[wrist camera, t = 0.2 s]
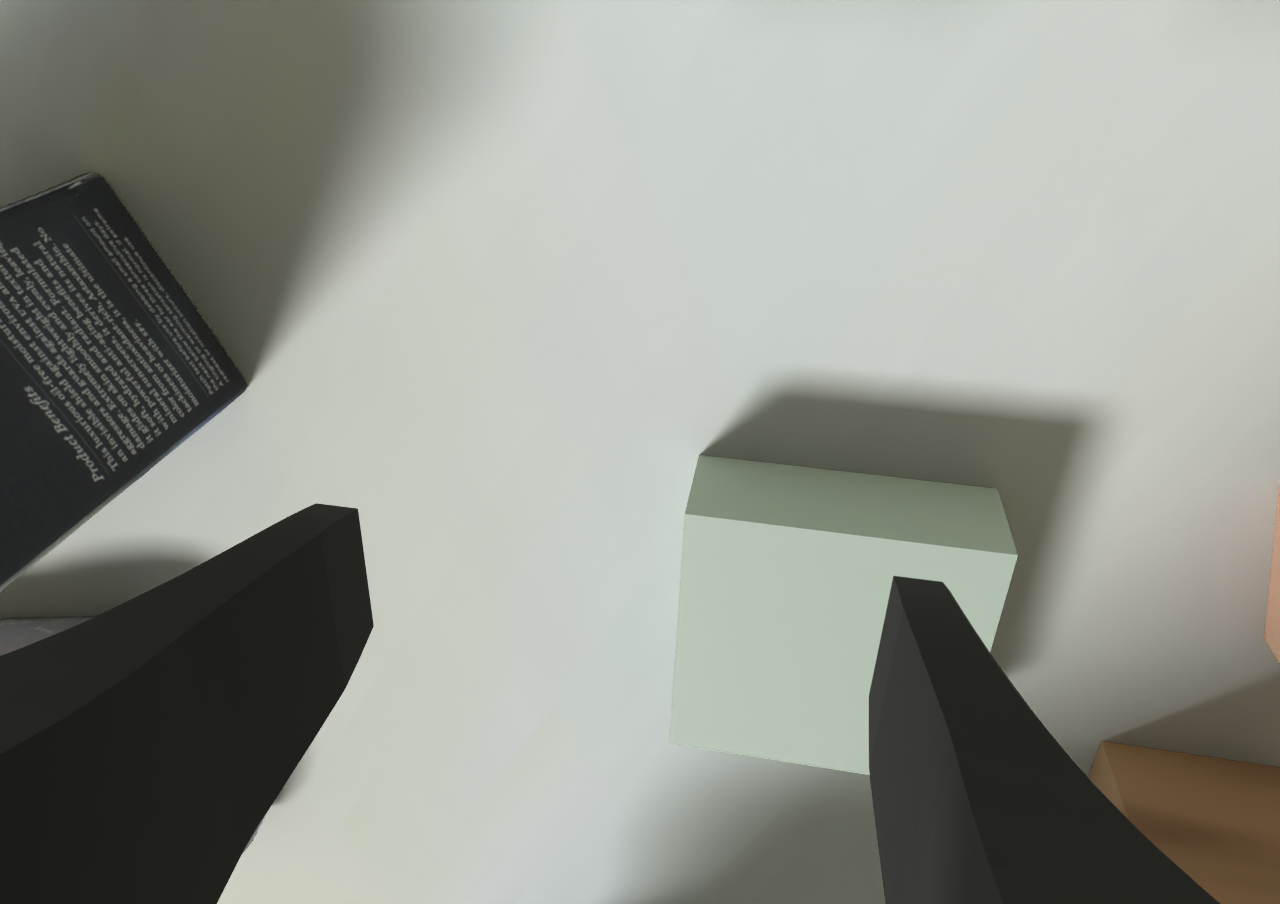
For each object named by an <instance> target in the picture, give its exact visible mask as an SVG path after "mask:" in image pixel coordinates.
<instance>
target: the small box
mask: <svg viewBox="0 0 1280 904" xmlns="http://www.w3.org/2000/svg"><path fill="white" fill-rule="evenodd" d="M246 388H247V384H246V382H245V381H244V380H243V378H242V376H241V374H240V373H239V371H238V370H237V368H236V367H235V366H234V364H233V363H232V361H231V360H230V358H229V357H228V356H227V354H226V352H225V351H224V349H223V348H222V347H221V345H220V344H219V342H218V341H217V340H216V338H215V337H214V335H213V334H212V332H211V331H210V330H209V328H208V327H207V325H206V324H205V322H204V321H203V320H202V318H201V317H200V315H199V314H198V312H197V311H196V309H195V308H194V307H193V305H192V304H191V302H190V301H189V299H188V298H187V296H186V295H185V293H184V292H183V291H182V289H181V288H180V286H179V285H178V284H177V282H176V281H175V279H174V278H173V277H172V275H171V274H170V272H169V271H168V269H167V268H166V267H165V265H164V264H163V262H162V261H161V259H160V258H159V257H158V255H157V254H156V253H155V251H154V250H153V248H152V247H151V245H150V244H149V243H148V241H147V240H146V238H145V237H144V235H143V234H142V233H141V231H140V230H139V229H138V227H137V225H136V224H135V222H134V221H133V220H132V218H131V217H130V215H129V214H128V212H127V211H126V210H125V208H124V207H123V205H122V204H121V203H120V201H119V200H118V199H117V197H116V196H115V194H114V193H113V191H112V190H111V188H110V187H109V186H108V184H107V183H106V182H105V181H104V179H103V178H102V177H101V176H100V175H97V174H95V173H85V174H82V175H80V176H77V177H75V178H73V179H71V180H69V181H66V182H64V183H61V184H59V185H57V186H54V187H51V188H49V189H47V190H45V191H43V192H40V193H37V194H35V195H33V196H29V197H27V198H25V199H22V200H20V201H17V202H15V203H11V204H9V205H6V206H4V207H1V208H0V592H1V591H2V590H3V589H4V588H5V587H7V586H8V585H9V584H10V583H12V582H13V581H14V580H15V579H16V578H18V577H19V576H20V575H21V574H23V573H24V572H25V571H26V570H28V569H29V568H30V567H31V566H33V565H34V564H35V563H36V562H38V561H39V560H40V559H41V558H43V557H44V556H45V555H46V554H48V553H49V552H50V551H51V550H53V549H54V548H55V547H56V546H57V545H59V544H60V543H61V542H62V541H63V540H65V539H66V538H67V537H68V536H69V535H70V534H72V533H73V532H74V531H75V530H76V529H78V528H79V527H80V526H81V525H82V524H84V523H85V522H86V521H87V520H88V519H90V518H91V517H92V516H93V515H95V514H96V513H97V512H98V511H99V510H101V509H102V508H103V507H104V506H106V505H107V504H108V503H109V502H110V501H112V500H113V499H114V498H115V497H117V496H118V495H119V494H120V493H122V492H123V491H124V490H125V489H126V488H128V487H129V486H130V485H131V484H133V483H134V482H135V481H136V480H138V479H139V478H140V477H142V476H143V475H144V474H145V473H146V472H148V471H149V470H150V469H151V468H152V467H153V466H155V465H156V464H157V463H158V462H159V461H161V460H162V459H163V458H164V457H165V456H167V455H168V454H169V453H170V452H172V451H173V450H174V449H175V448H177V447H178V446H179V445H180V444H181V443H183V442H184V441H185V440H186V439H188V438H189V437H190V436H191V435H193V434H194V433H195V432H196V431H198V430H199V429H200V428H201V427H202V426H204V425H205V424H206V423H207V422H209V421H210V420H211V419H212V418H213V417H215V416H216V415H217V414H218V413H220V412H221V411H222V410H223V409H224V408H226V407H227V406H228V405H229V404H230V403H231V402H233V401H234V400H235V399H236V398H237V397H239V396H240V395H241V394H242V393H243V392H244V391H245V390H246Z"/></svg>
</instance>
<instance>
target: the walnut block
mask: <svg viewBox="0 0 1280 904" xmlns="http://www.w3.org/2000/svg"><path fill="white" fill-rule="evenodd" d="M1088 778H1089V779H1090V781H1091V782H1092V783H1093V784H1094V785H1095V786H1096V787H1097V788H1098V789H1099V790H1100V791H1101V792H1102V793H1103V794H1104V795H1105V796H1106V797H1107V798H1108V799H1109V800H1110V801H1111V802H1112V803H1113V804H1114V805H1115V806H1116V807H1117V808H1118V809H1119V811H1120V812H1121V813H1122V814H1123V815H1124V816H1125V817H1126V818H1127V819H1128V820H1129V821H1130V822H1131V823H1132V824H1133V825H1134V826H1135V827H1136V828H1137V829H1138V830H1139V831H1140V832H1141V833H1142V834H1144V835H1145V836H1146V837H1147V838H1148V839H1149V840H1150V841H1151V842H1152V843H1153V844H1154V845H1155V846H1156V847H1157V848H1158V849H1159V850H1160V851H1161V852H1163V853H1164V854H1165V855H1166V856H1167V857H1168V858H1169V859H1170V860H1172V861H1173V862H1174V863H1175V864H1176V865H1177V866H1178V867H1179V868H1181V869H1182V870H1183V871H1184V872H1185V873H1186V874H1187V875H1188V876H1190V877H1191V878H1192V879H1193V880H1194V881H1195V882H1196V883H1197V884H1198V885H1200V886H1201V887H1202V888H1203V889H1204V890H1205V891H1206V892H1207V893H1209V894H1210V895H1211V896H1212V897H1213V898H1214V899H1216V900H1217V901H1218V902H1219V903H1220V904H1280V767H1274V766H1267V765H1261V764H1254V763H1247V762H1240V761H1233V760H1227V759H1220V758H1213V757H1206V756H1200V755H1193V754H1186V753H1179V752H1172V751H1166V750H1159V749H1152V748H1145V747H1139V746H1132V745H1125V744H1118V743H1111V742H1105V741H1102V742H1101V744H1100V747H1099V749H1098V752H1097V754H1096V757H1095V760H1094V762H1093V765H1092V767H1091V770H1090V772H1089V775H1088Z"/></svg>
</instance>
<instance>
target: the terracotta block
mask: <svg viewBox="0 0 1280 904" xmlns="http://www.w3.org/2000/svg"><path fill="white" fill-rule="evenodd" d="M1264 640H1265V641H1266V643H1267V644H1268V646H1269V648H1270V649H1271V651H1272V652H1273V654H1274V656H1275V657H1276V659H1277V660H1278V662H1279V664H1280V481H1279V491H1278V502H1277V512H1276V522H1275V532H1274V543H1273V553H1272V563H1271V573H1270V583H1269V594H1268V604H1267V614H1266V624H1265V634H1264Z"/></svg>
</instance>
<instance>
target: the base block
mask: <svg viewBox="0 0 1280 904" xmlns="http://www.w3.org/2000/svg"><path fill="white" fill-rule="evenodd" d="M1017 557H1018V554H1017V550H1016V547H1015V544H1014V540H1013V537H1012V534H1011V531H1010V527H1009V524H1008V521H1007V518H1006V514H1005V511H1004V508H1003V504H1002V501H1001V498H1000V495H999V491H998V489H995V488H987V487H978V486H969V485H960V484H951V483H942V482H934V481H925V480H916V479H907V478H898V477H890V476H881V475H872V474H863V473H854V472H845V471H837V470H828V469H819V468H810V467H801V466H792V465H784V464H775V463H766V462H757V461H748V460H739V459H731V458H722V457H713V456H704V455H699V458H698V462H697V466H696V470H695V474H694V479H693V483H692V487H691V491H690V495H689V499H688V503H687V507H686V512H685V520H684V534H683V549H682V563H681V578H680V592H679V607H678V621H677V635H676V650H675V664H674V679H673V693H672V708H671V722H670V736H669V744H675V745H681V746H688V747H694V748H700V749H707V750H713V751H719V752H726V753H732V754H738V755H745V756H751V757H757V758H764V759H770V760H776V761H783V762H789V763H796V764H802V765H808V766H815V767H821V768H827V769H834V770H840V771H846V772H853V773H859V774H865V775H870V773H869V693H870V688H871V683H872V678H873V673H874V668H875V663H876V659H877V654H878V649H879V644H880V639H881V634H882V629H883V624H884V619H885V615H886V610H887V605H888V600H889V595H890V590H891V585H892V580H893V576H900V577H908V578H916V579H924V580H932V581H940V582H943V583H944V584H945V585H946V586H947V588H948V589H949V590H950V592H951V593H952V595H953V597H954V598H955V600H956V601H957V603H958V604H959V606H960V608H961V609H962V611H963V612H964V614H965V615H966V617H967V619H968V620H969V622H970V623H971V625H972V626H973V628H974V629H975V631H976V632H977V634H978V635H979V637H980V638H981V640H982V641H983V643H984V644H985V646H986V647H987V649H988V650H989V652H990V651H991V648H992V644H993V641H994V637H995V634H996V630H997V627H998V623H999V620H1000V616H1001V613H1002V609H1003V606H1004V602H1005V599H1006V595H1007V592H1008V588H1009V585H1010V581H1011V578H1012V574H1013V571H1014V568H1015V564H1016V561H1017Z"/></svg>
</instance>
